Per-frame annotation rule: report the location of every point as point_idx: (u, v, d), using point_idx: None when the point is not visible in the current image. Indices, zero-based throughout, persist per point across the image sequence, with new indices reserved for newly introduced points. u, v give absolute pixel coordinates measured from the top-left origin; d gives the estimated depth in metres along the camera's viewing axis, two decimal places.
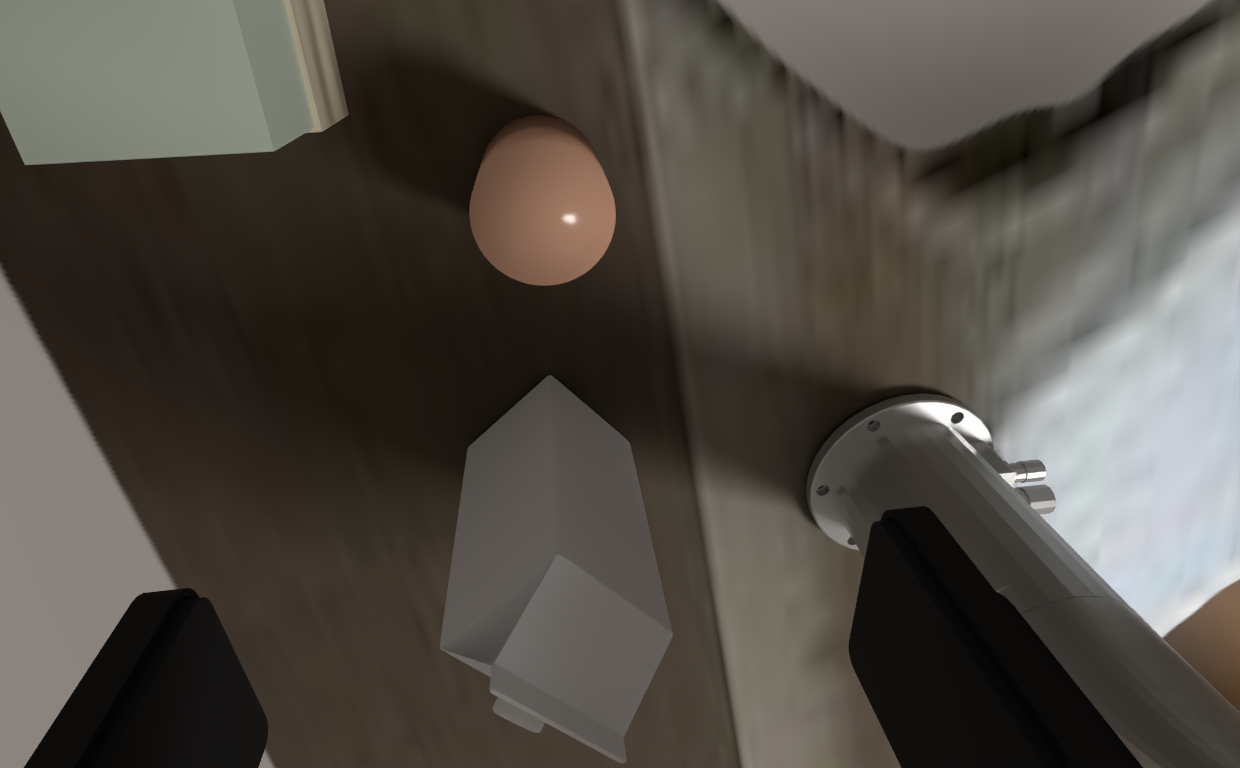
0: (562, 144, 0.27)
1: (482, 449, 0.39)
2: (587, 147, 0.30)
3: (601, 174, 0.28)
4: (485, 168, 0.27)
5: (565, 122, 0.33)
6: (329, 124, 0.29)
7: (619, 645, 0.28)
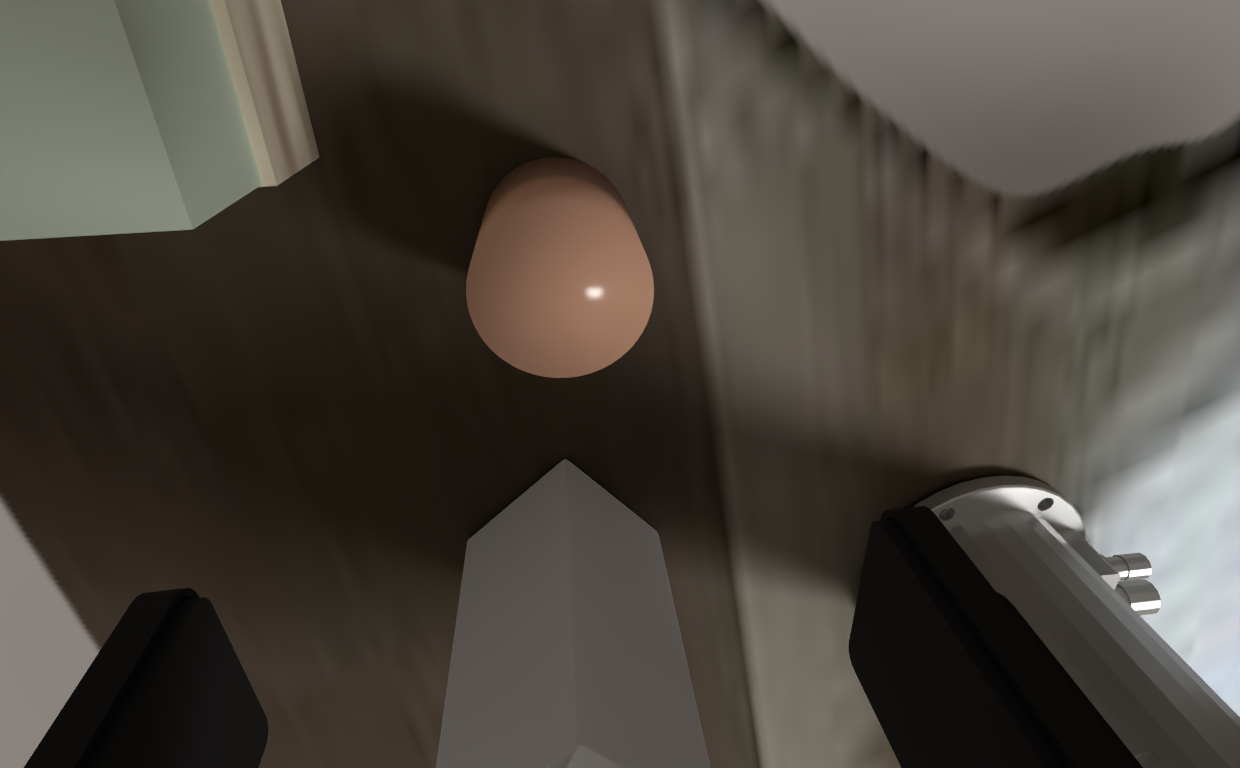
0: (587, 205, 0.21)
1: (484, 548, 0.33)
2: (616, 202, 0.24)
3: (637, 242, 0.21)
4: (486, 236, 0.21)
5: (587, 166, 0.26)
6: (289, 174, 0.23)
7: None
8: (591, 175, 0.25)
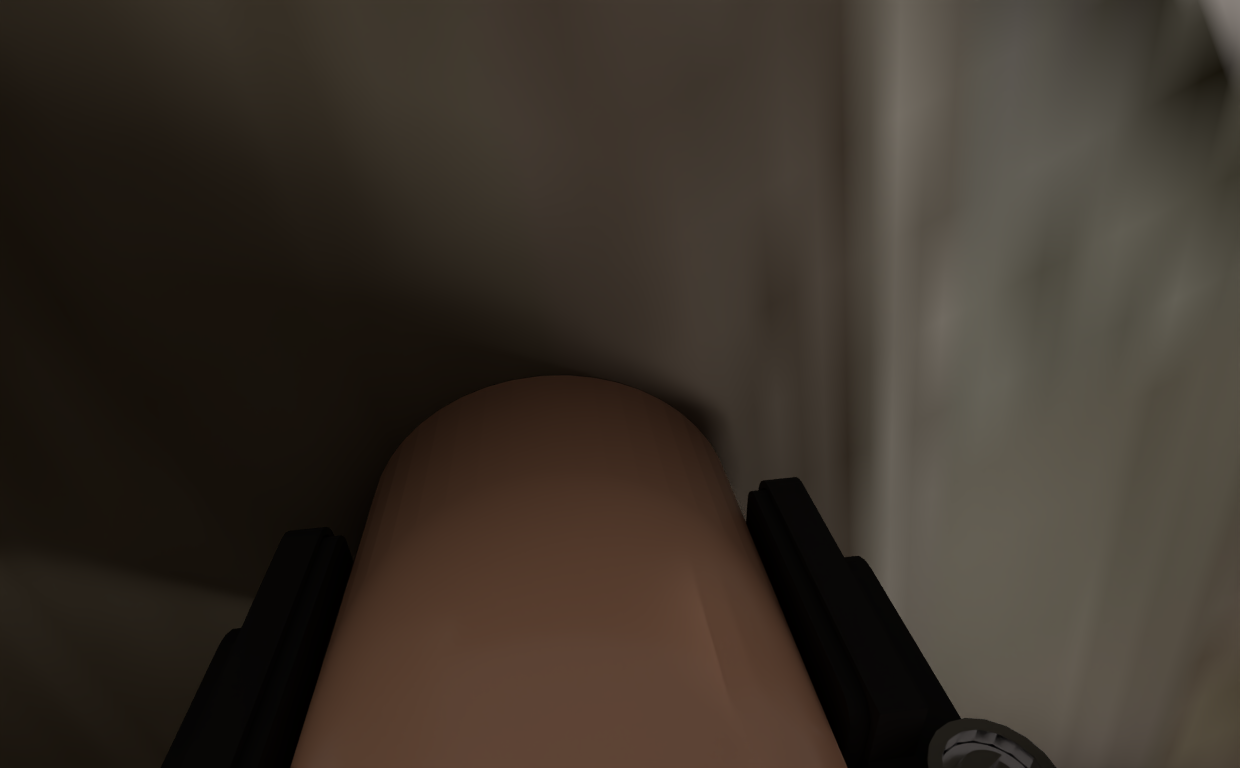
0: None
1: None
2: (754, 601, 0.07)
3: None
4: None
5: (638, 404, 0.10)
6: None
7: None
8: (659, 466, 0.09)
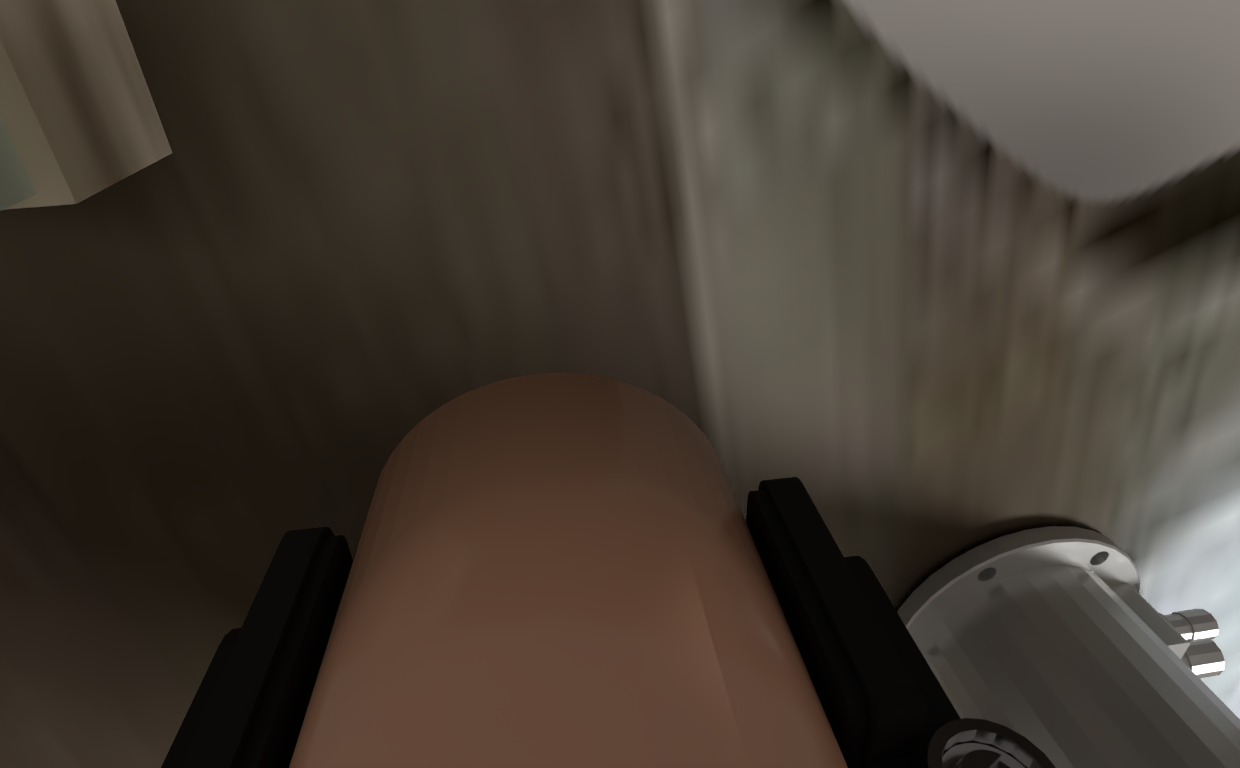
0: None
1: None
2: (752, 597, 0.07)
3: None
4: None
5: (637, 401, 0.10)
6: (105, 183, 0.15)
7: None
8: (658, 462, 0.09)
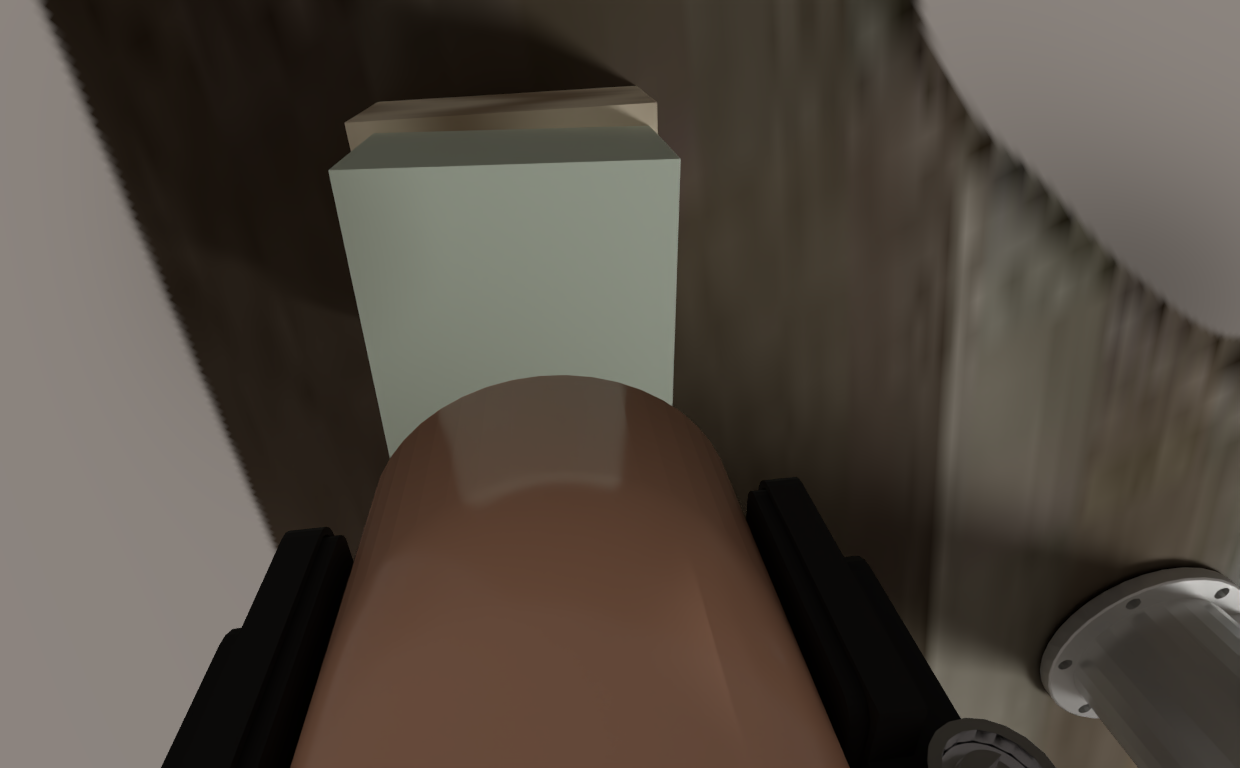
0: None
1: None
2: (756, 603, 0.07)
3: None
4: None
5: (639, 404, 0.10)
6: None
7: None
8: (660, 466, 0.09)
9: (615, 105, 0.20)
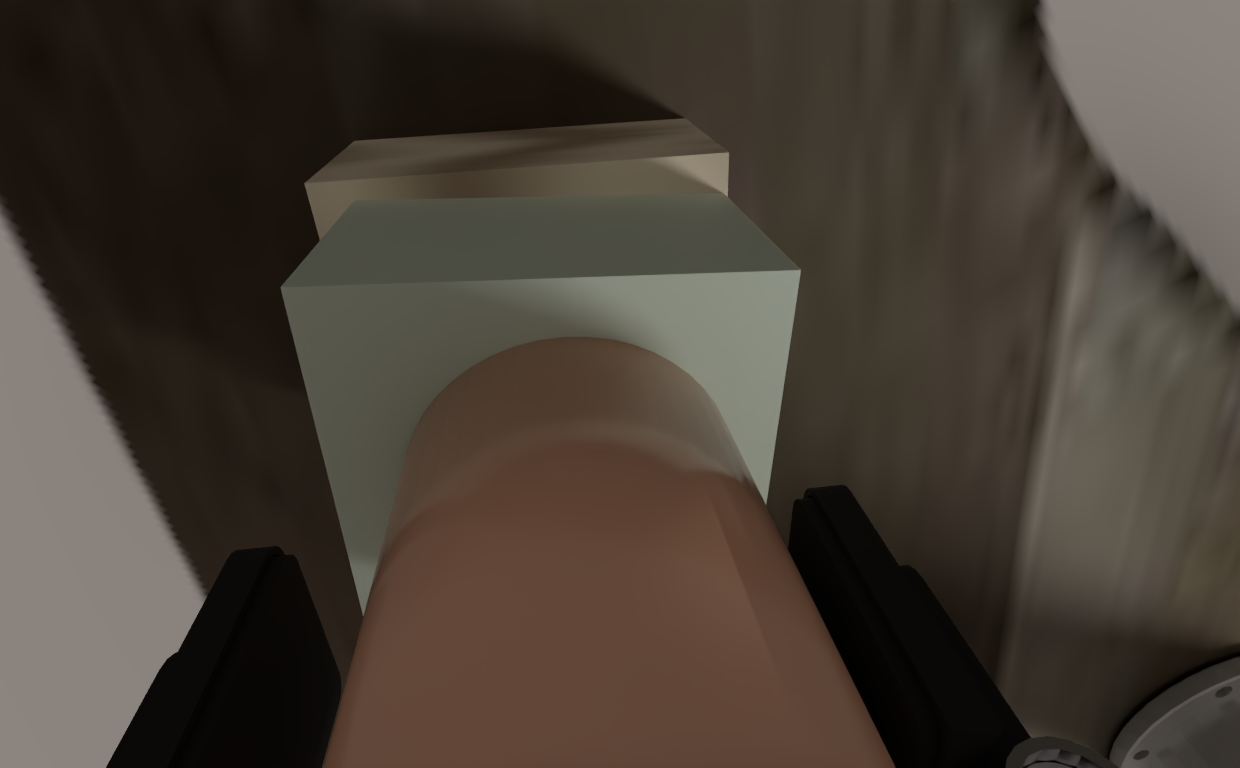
0: (742, 726, 0.05)
1: None
2: (759, 521, 0.08)
3: None
4: None
5: (652, 362, 0.11)
6: None
7: None
8: (673, 411, 0.10)
9: (673, 156, 0.15)
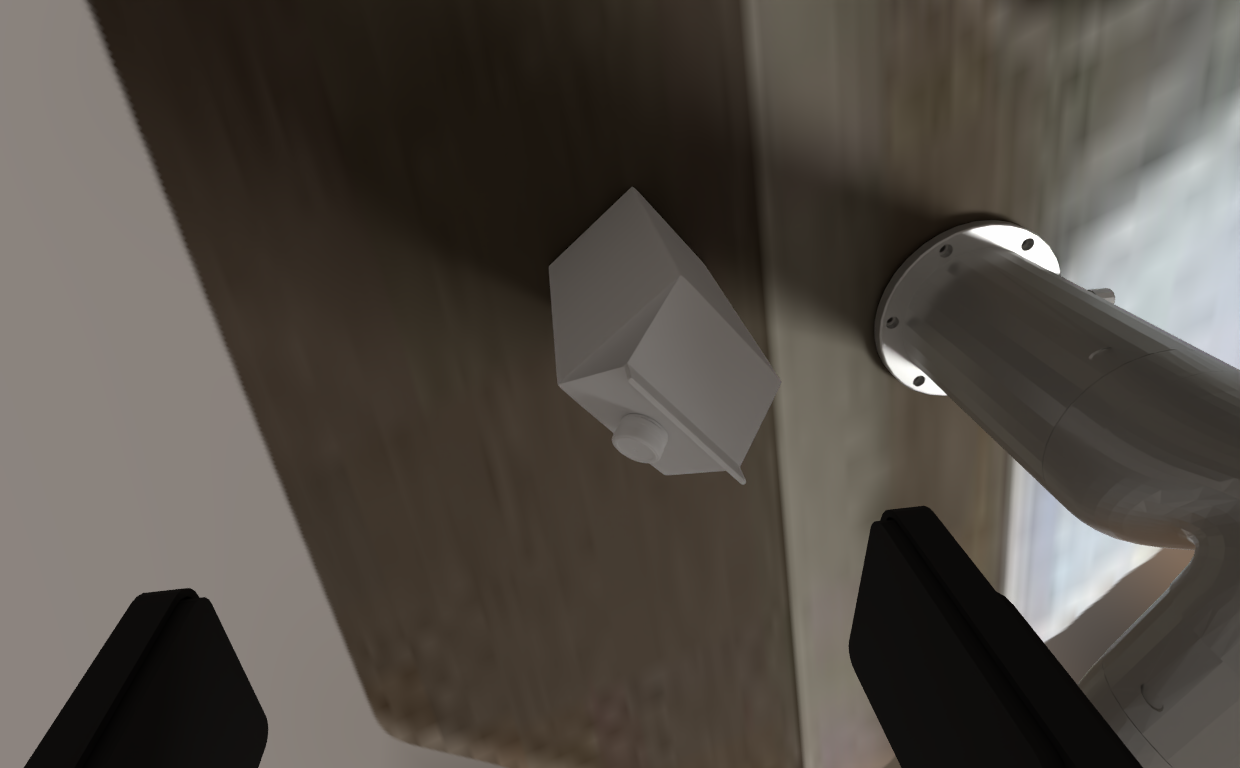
0: None
1: (567, 259, 0.40)
2: None
3: None
4: None
5: None
6: None
7: (735, 378, 0.29)
8: None
9: None
